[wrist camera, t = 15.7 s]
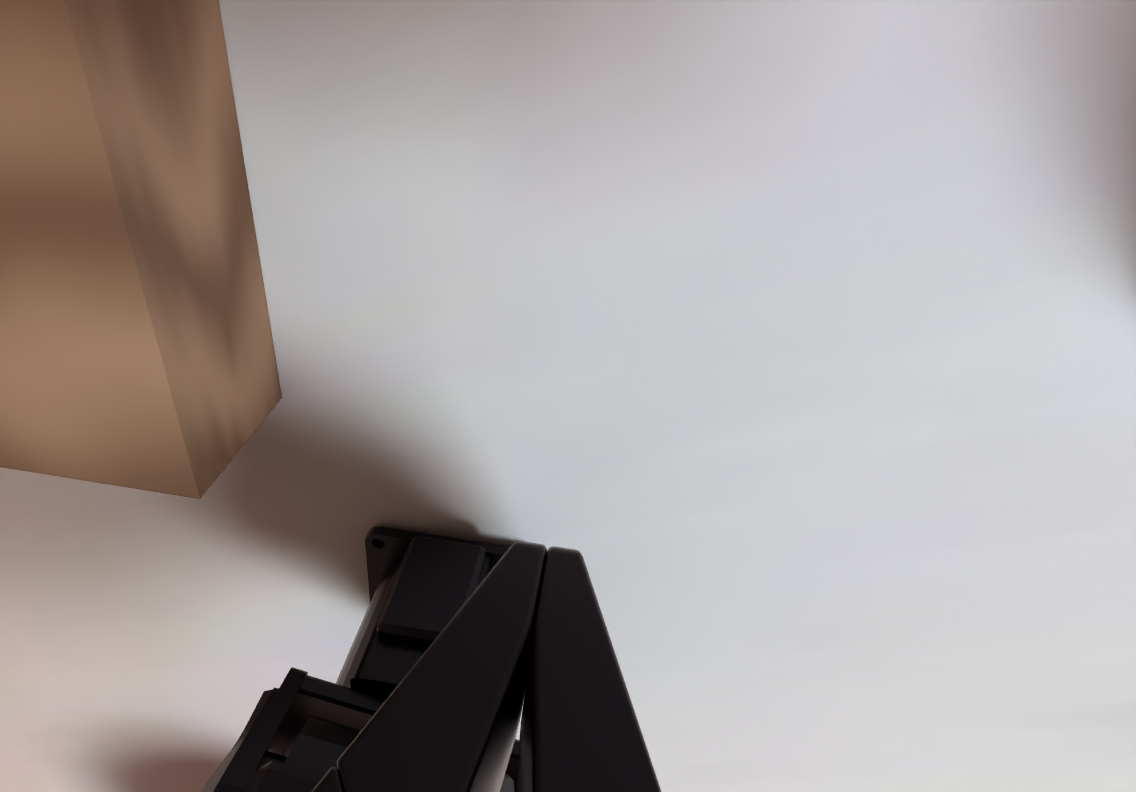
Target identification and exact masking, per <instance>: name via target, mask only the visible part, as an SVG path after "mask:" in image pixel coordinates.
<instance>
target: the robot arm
mask: <svg viewBox="0 0 1136 792" xmlns="http://www.w3.org/2000/svg"><path fill="white" fill-rule="evenodd" d="M379 539H380V540H379ZM365 545H366V556H367V568H368V579H369V591H370V602H371V603H370V605H369V607H368V609H367V612H366V614H365V616H364V619H363V621H362V623H361V626H360V628H359V630H358V633H357V635H356V637H355V640H354V642H353V644H352V647H351V649H350V651H349V654H348V656H347V658H346V661H345V663H344V665H343V668H342V670H341V672H340V675H339V677H338V679H337V682H336V684H334V683H331V682H328V681H325V680H321V679H318V678H315V677H311V676H308V672H306V671H302V670H299V669H296V668H293V667H292V668H291V669H290V671H289V673H288V674H287V676H286V678H285V679H284V681H283V683H282V685H281V686H280V688H274V689H273V690H268V691H264V693H263V694H262V696H261V698H260V700H259V702H258V704H257V706H256V708H255V710H254V712H253V714H252V716H251V718H250V719H249V721H248V723H247V725H246V727H245V729H244V731H243V732H242V734H241V736H240V738H239V739H238V741H237V742H236V744H235V745H234V747H233V748H232V750H231V751H230V753H229V754H228V755H227V757H226V758H225V759H224V761H223V762H222V764H221V765H220V766H219V768H218V769H217V770H216V772H215V773H214V775H213V776H212V777H211V779H210V780H209V781H208V783H207V784H206V786H205V787H204V788H203V790H202V791H201V792H661V789H660V786H659V783H658V780H657V777H656V774H655V771H654V768H653V765H652V762H651V759H650V756H649V753H648V750H647V747H646V744H645V741H644V738H643V735H642V732H641V729H640V726H639V723H638V720H637V717H636V714H635V711H634V708H633V705H632V702H631V699H630V696H629V693H628V690H627V687H626V684H625V681H624V678H623V675H622V673H621V670H620V667H619V664H618V661H617V658H616V655H615V652H614V649H613V646H612V643H611V640H610V637H609V634H608V631H607V628H606V625H605V622H604V619H603V616H602V613H601V610H600V607H599V604H598V601H597V598H596V595H595V592H594V589H593V586H592V583H591V580H590V577H589V574H588V571H587V568H586V565H585V562H584V559H583V556H582V554H581V553H580V552H579V551H577V550H573V549H567V548H561V547H550V548H549V549H548V551H547V549H546V547H545V546H544V545H542V544H536V543H529V542H523V541H517V542H515V543H513V544H512V545H511V546H510V547H505V546H499V545H493V544H486V543H480V542H474V541H468V540H461V539H455V538H449V537H443V536H436V535H430V534H424V533H418V532H411V531H405V530H399V529H393V528H386V527H373V528H372V529H371V530H370V531H369V533H368V535H367V537H366V540H365ZM524 695H525V696H524ZM523 701H524V704H523ZM522 706H523V711H522ZM521 712H522V719H521V729H520V740H517V739H515V737H516V733H517V729H518V726H519V722H520V717H521Z"/></svg>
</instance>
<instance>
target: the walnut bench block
mask: <svg viewBox="0 0 1136 792" xmlns="http://www.w3.org/2000/svg"><path fill="white" fill-rule="evenodd" d="M281 398H282V397H281V391H280V385H279V378H278V372H277V366H276V359H275V353H274V347H273V341H272V334H271V328H270V322H269V316H268V309H267V303H266V297H265V291H264V284H263V278H262V272H261V266H260V259H259V253H258V247H257V241H256V234H255V228H254V222H253V215H252V209H251V203H250V197H249V190H248V184H247V178H246V172H245V165H244V159H243V153H242V147H241V140H240V134H239V128H238V122H237V115H236V109H235V103H234V96H233V90H232V84H231V78H230V71H229V65H228V59H227V53H226V46H225V40H224V34H223V28H222V21H221V15H220V9H219V3H218V0H0V467H4V468H10V469H16V470H23V471H29V472H35V473H41V474H48V475H54V476H60V477H66V478H73V479H79V480H85V481H91V482H98V483H104V484H110V485H116V486H123V487H129V488H135V489H141V490H148V491H154V492H160V493H166V494H173V495H179V496H185V497H191V498H198V499H200V498H201V497H202V496H203V494H204V493H205V492H206V491H207V489H208V488H209V487H210V486H211V484H212V483H213V482H214V481H215V480H216V478H217V477H218V476H219V475H220V473H221V472H222V471H223V470H224V468H225V467H226V466H227V465H228V463H229V462H230V461H231V460H232V459H233V457H234V456H235V455H236V454H237V452H238V451H239V450H240V449H241V447H242V446H243V445H244V444H245V442H246V441H247V440H248V439H249V438H250V436H251V435H252V434H253V433H254V431H255V430H256V429H257V428H258V426H259V425H260V424H261V423H262V421H263V420H264V419H265V418H266V417H267V415H268V414H269V413H270V412H271V410H272V409H273V408H274V407H275V405H276V404H277V403H278V402H279V400H280V399H281Z"/></svg>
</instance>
